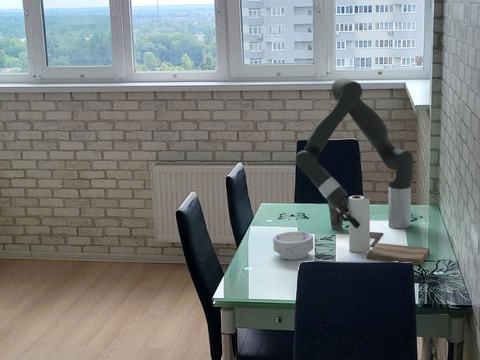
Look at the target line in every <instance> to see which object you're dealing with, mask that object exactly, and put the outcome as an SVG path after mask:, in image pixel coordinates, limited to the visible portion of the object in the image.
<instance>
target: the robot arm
mask: <svg viewBox="0 0 480 360" xmlns="http://www.w3.org/2000/svg"><path fill="white" fill-rule="evenodd" d="M362 93H363V87H362V85H361V84H360V83H359V82H357V81H355V80H352V79H349V78H346V77H345V78H338V79H335V80H334V81H333V82H332V85H331V94H332V96H333V99H335V101H337V104H336V105H335V106H334V108H333V109H332V110H331V111H330V112H329V113H328V114H327V115H325V116H324V117H323V118H322V119H321V120H319V122H318V123H317V124H316V126H315V127H314V128H313V130H312V132H311V133H310V135H309V137H308V139H307V141H306V142H307V143H306V145H305V146H304V149H303V150H301V151H299V152H298V153H297V154H296V155H295V165H296V166H297V167H298V168H299V169H300V170H301V171H302V172H303V173H304V174H305V175H306V176H307V177H308V178H309V179H310V181H311V182H312V183H313V185H315V187H316V188H317V189H318V191H319V192H320V193H321V194H322V197H324V198H325V199H326V200H327V202H328V201H329V203H330V204H331V205H332V206H333V207H335V206H337V207H338V208H337V209H336V210H335V212H336V213H337V214H338V215H339V216H340V217H341V218H342V219H343V222H349V221H350V222H351V224H352V225H353V226H354V227H355V228H358V227H359V226H360V224H359V222H358V221H357V220H356V219H355V218H354V217H353V215H352V212H351V210H350V208H349V196H348V195H349V194H348V192H347V191H346V190H345V189H344V188H343V186H342V185H341V184H340V183H339V182H338V181H337V180H336V179H335V178H334V177H333V176H332V175H331V174H330V173H329V172H328V171H327V170H326V168H324V167H323V166H322V165H321V164H320V163H319V162H318V159H319V157H320V155H321V153H322V151H323V149H324V148H325V146H326V145H327V143H328V142H329V140H330V138H331V136H332V135H333V133H334V131H335V130H336V129H337V128H338V126H339V125H340V123H341V122H342V121H344V119H345V117H346V116H347V115H348V114H349V116H350V117H351V118H352V120H353V121H354V123H355V124H356V126H357V127H358V129H359V130H360V131H361V132H362V134H363V135H364V137H365V138H367V140H368V141H369V143H371V145H372V146H373V148H374V149H375V150H376V151H377V153H378V155H379V157H380V158H381V160H382V162H383V163H384V165H385V166H386V168H387V169H389V170H392V171H396V172H395V177H394V178H390V179H389V180H388V227H390V228H393V229H407V228H410V227H411V222H412V221H411V219H412V217H411V216H412V214H411V213H412V211H411V209H412V208H411V207H412V206H411V205H412V204H411V203H412V201H411V200H412V199H411V197H412V195H411V193H412V192H411V189H412V188H411V184H412V183H413V182H412V181H413V177H414V176H413V175H414V156H413V153H412V152H411V151H410V150H407V149H401V148H396V147H395V146H394V145H393V144H392V143H391V141H390V140H389V137H388V128H387V125H386V124H385V121H383V120H382V118H381V117H380V116H379V114H378V113H377V112H376V111H374V109H373V108H371V107H370V106H369V105H368V104H366V103H365V102H364V101H363V100H362V99H361V96H362ZM341 212H342V213H341ZM349 215H350V216H349Z"/></svg>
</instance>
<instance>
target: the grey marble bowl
mask: <svg viewBox="0 0 480 360" xmlns="http://www.w3.org/2000/svg"><path fill="white" fill-rule="evenodd" d="M272 242H273V243H272V244H273V250H274V251H273V252H275V253H277V254H279V256H280V258H282V259H284V260H291V261H296V260H301V259H305V258H306V257H307V256H308V254H309V253H310V252H311V251H313V250H314V237H313V234H311V233H309V232H306V231H285V232H281V233H278V234H276V235H274V236H273V238H272Z"/></svg>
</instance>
